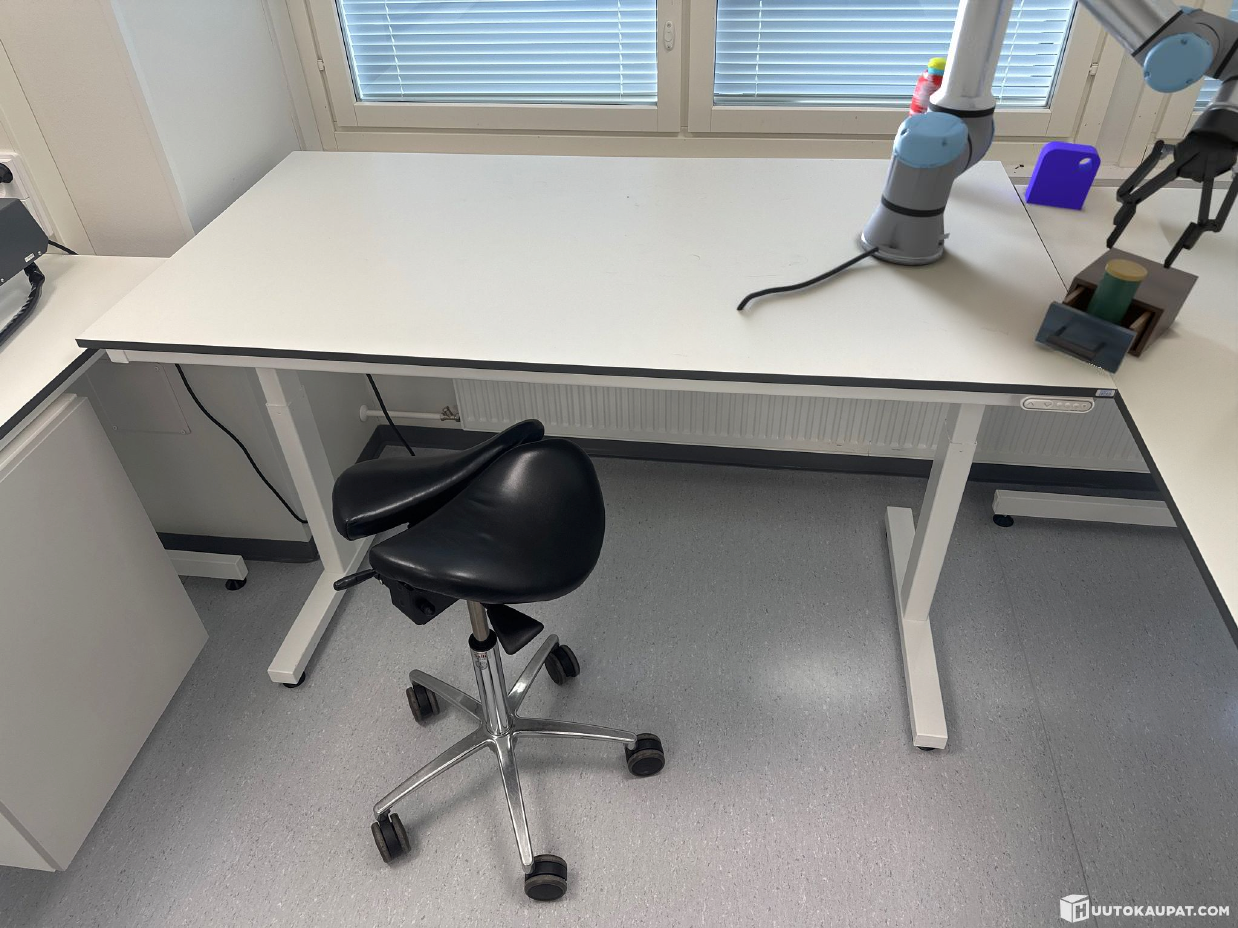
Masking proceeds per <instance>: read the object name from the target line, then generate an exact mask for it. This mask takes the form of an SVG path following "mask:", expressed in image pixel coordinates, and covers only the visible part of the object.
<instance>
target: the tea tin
mask: <svg viewBox="0 0 1238 928" xmlns="http://www.w3.org/2000/svg"><path fill="white" fill-rule="evenodd" d="M1146 274H1147V270H1146V269H1145V268H1144V267H1143V266H1141V265H1140V264H1137V263H1135V262H1132V261H1128V260H1122V259H1114V260H1110V261H1109V262H1108V263H1107V265H1106V267H1105V271H1104V274H1103V276H1102V278H1101V280H1100V282H1099V284H1098V286H1097V288H1096V291H1095V293H1094V295H1093V297H1092V299H1091V301H1090V303H1089V305H1088V308H1087V310H1086V312H1085V313H1087V314H1090V315H1092V316H1095V317H1097V318H1100V319H1102V320H1105V321H1108V322H1110V323H1113V324H1115V325H1118V326H1119V325H1120V323H1121V321H1122V319H1123V317H1124V315H1125V313H1126V311H1127V309H1128V307H1129V305H1130V303H1131V301H1132V299H1133V298H1134V296H1135V294H1136V292H1137V290H1138V288H1139V286H1140V284H1141V282H1142V280H1143V279H1144V278H1145V276H1146Z"/></svg>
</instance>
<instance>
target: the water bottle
mask: <svg viewBox="0 0 1238 928" xmlns="http://www.w3.org/2000/svg"><path fill="white" fill-rule="evenodd" d="M946 63H947V58H945V57H933V58H930V60H929V62H928V63H927V67H928V69H925V70H924V72H923V73H922V74H921V75H920V77H918V79H917V82H916V85H915V88H914V91H913V95H912V100H911V103H910V108H909V113H908V114H909V115H908V118H909V117H910V116H913V115H915V114H919V113H921V114H925V113H926V112H927V110H928V105H929V101H930V96H931V95H932V94H933V93H935V92H936V91H937V90H939V89H940V87H941V85H942V81H943V76H944V72H945V67H946Z"/></svg>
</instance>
